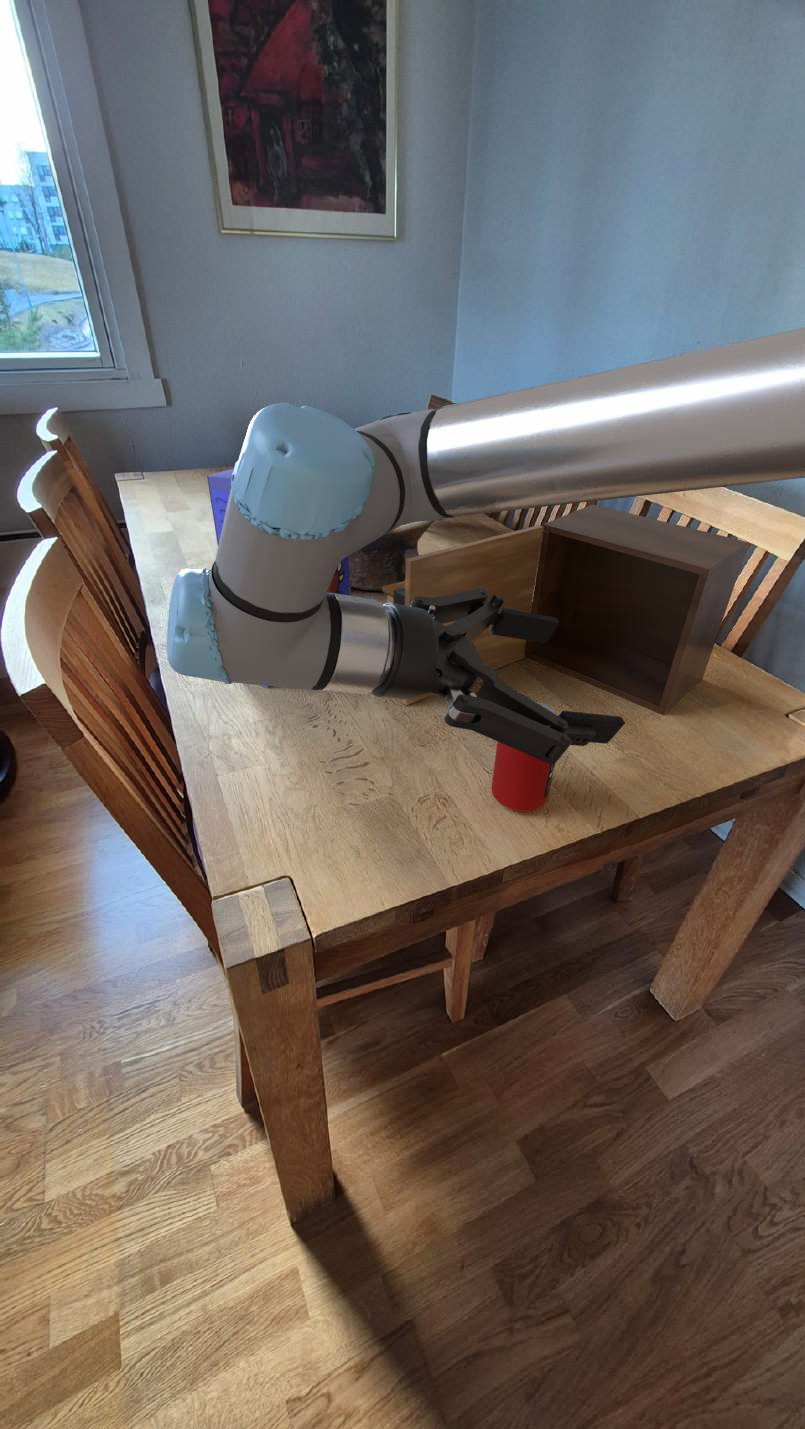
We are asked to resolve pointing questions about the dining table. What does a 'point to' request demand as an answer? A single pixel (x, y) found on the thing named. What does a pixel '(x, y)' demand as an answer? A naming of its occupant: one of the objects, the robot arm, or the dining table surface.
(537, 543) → the cabinet door
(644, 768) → the dining table surface
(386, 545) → the bowl
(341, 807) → the dining table surface
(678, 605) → the cabinet
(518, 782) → the beverage can
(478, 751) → the dining table surface
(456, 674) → the robot arm
